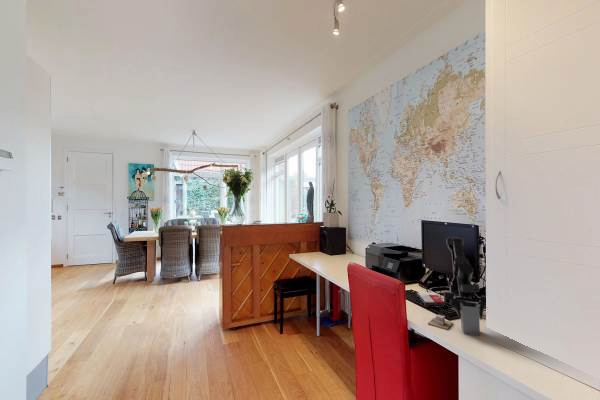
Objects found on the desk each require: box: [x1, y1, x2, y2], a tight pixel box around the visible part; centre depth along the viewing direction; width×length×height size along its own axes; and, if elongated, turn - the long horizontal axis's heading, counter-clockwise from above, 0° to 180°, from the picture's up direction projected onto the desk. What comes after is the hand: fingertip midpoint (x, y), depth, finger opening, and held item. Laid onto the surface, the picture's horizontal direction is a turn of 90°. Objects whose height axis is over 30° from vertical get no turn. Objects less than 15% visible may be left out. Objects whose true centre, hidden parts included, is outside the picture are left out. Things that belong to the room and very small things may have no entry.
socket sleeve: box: [460, 301, 481, 337], centre depth 116 cm, size 6×6×12 cm
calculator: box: [416, 291, 447, 305], centre depth 151 cm, size 11×4×15 cm
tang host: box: [427, 314, 454, 331], centre depth 124 cm, size 8×8×4 cm
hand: (470, 318), depth 115 cm, fingers open, 8 cm apart
